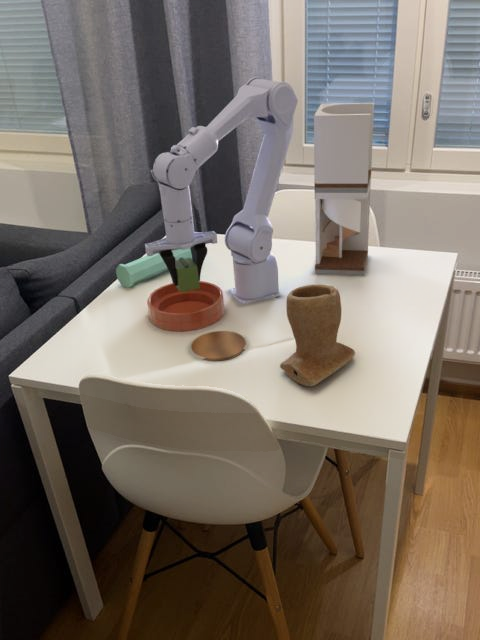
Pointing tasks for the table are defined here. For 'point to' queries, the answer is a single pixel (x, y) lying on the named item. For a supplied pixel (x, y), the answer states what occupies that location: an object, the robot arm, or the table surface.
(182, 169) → the robot arm
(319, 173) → the spiral staircase tower
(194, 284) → the green grooved block
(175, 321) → the bowl
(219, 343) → the coaster
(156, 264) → the container
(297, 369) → the stone cup
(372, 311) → the table surface
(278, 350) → the table surface
